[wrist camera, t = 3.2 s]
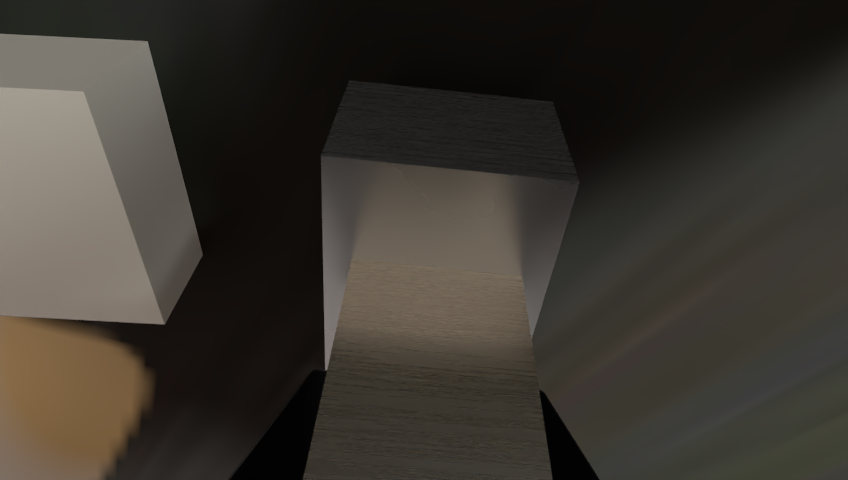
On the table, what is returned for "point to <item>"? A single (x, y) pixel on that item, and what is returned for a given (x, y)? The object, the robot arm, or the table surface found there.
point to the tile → (89, 184)
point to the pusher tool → (437, 283)
